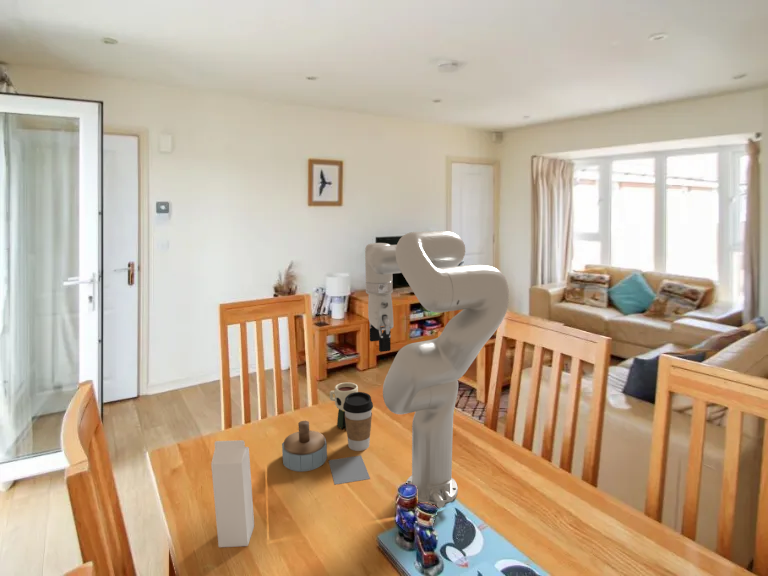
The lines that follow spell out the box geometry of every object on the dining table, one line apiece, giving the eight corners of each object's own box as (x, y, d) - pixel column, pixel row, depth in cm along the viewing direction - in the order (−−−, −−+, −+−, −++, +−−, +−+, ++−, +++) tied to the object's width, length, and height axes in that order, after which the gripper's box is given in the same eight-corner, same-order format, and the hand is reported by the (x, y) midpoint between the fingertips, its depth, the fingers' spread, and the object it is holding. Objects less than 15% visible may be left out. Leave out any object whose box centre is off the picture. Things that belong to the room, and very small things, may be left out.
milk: (226, 527, 100) (218, 433, 96) (255, 526, 101) (248, 432, 96) (218, 548, 94) (209, 449, 90) (248, 546, 95) (240, 447, 90)
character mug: (326, 429, 142) (325, 389, 140) (334, 418, 149) (333, 380, 146) (360, 433, 139) (359, 393, 137) (367, 422, 146) (366, 383, 144)
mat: (370, 480, 116) (370, 478, 116) (334, 486, 114) (334, 484, 114) (361, 457, 127) (361, 455, 127) (328, 462, 124) (328, 460, 124)
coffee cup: (375, 439, 136) (374, 392, 133) (371, 455, 127) (371, 405, 125) (347, 438, 137) (345, 391, 134) (341, 454, 128) (340, 403, 125)
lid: (285, 457, 118) (284, 435, 117) (283, 436, 128) (282, 416, 127) (327, 451, 121) (326, 430, 119) (322, 431, 131) (321, 411, 130)
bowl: (329, 469, 121) (328, 451, 120) (284, 476, 118) (283, 458, 117) (323, 446, 132) (323, 430, 131) (282, 452, 129) (281, 436, 128)
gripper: (402, 292, 123) (402, 354, 126) (382, 281, 139) (383, 336, 142) (374, 294, 121) (375, 356, 124) (358, 282, 137) (359, 338, 140)
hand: (379, 345), depth 133 cm, fingers open, 9 cm apart
